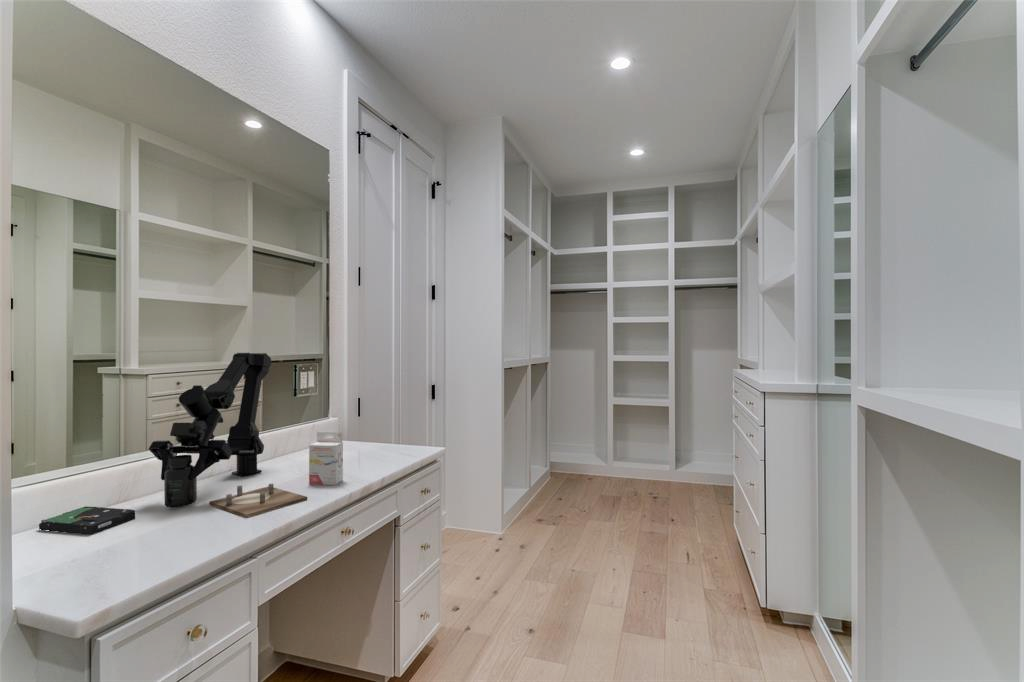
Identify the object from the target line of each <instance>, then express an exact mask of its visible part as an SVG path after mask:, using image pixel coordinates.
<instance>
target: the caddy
mask: <svg viewBox="0 0 1024 682" xmlns="http://www.w3.org/2000/svg"><path fill="white" fill-rule="evenodd" d="M274 485H275V484H274V483H269V484H268V486H265V487H261V488H257V489H253V490H249V491H246V492H243V485H237V486H236V494H234V495H233V494H232V493H229V494H226V495H225V497H222V498H218V499H215V500H210V501H208V505H209V506H212V507H214V508H218V509H220V510H223V511H226V512H228V513H231V514H234V515H237V516H240V517H243V518H246V519H247V518H251V517H255V516H257V515H260V514H261V515H262V514H264V513H267V512H271V511H274V510H278V509H280V508H281V509H282V508H284V507H287V506H291V505H294V504H298V503H300V502H304V501H308V496H306V495H303V494H298V493H295V492H291V491H288V490H284V489H281V488H277V487H275V486H274Z"/></svg>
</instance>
